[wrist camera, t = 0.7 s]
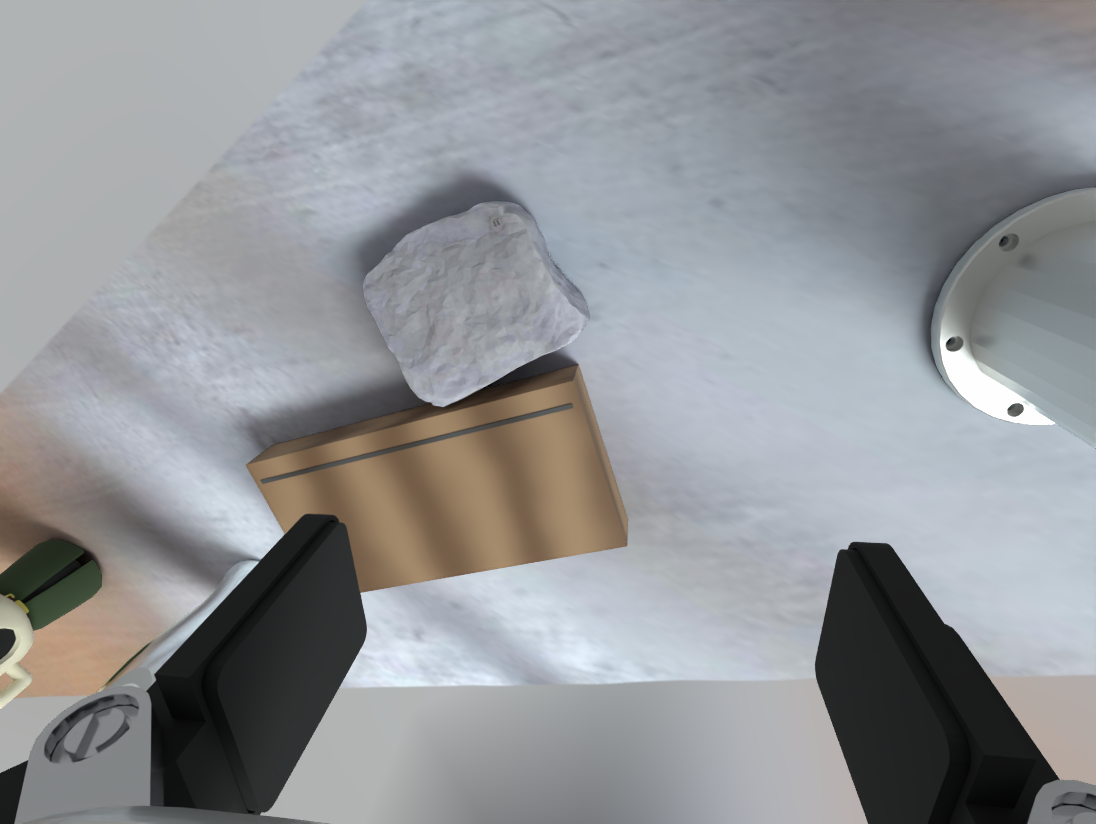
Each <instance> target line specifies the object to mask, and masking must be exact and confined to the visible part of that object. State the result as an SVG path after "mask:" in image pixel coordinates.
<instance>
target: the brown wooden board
mask: <svg viewBox="0 0 1096 824" xmlns="http://www.w3.org/2000/svg"><path fill="white" fill-rule="evenodd" d="M246 466H247V468H248V470H249V472H250V473H251V475H252V477H253V479H254V480H255V482H256V484H257V486H258V488H259V489H260V491H261V493H262V495H263V496H264V498H265V500H266V502H267V503H268V505H269V507H270V509H271V510H272V512H273V514H274V516H275V517H276V519H277V521H278V523H279V524H280V526H281V528H282V530H283V531H284V533H285V534H286V533H287V532H288V531H289V530H290V528H291V527H292V526H293V525H294V524H295V523H296V522H297V521H298V520H299V519H300V518H301V517H302V516H303V515H305V514H308V513H309V514H328V515H335V516H336V517H337V518H338V519H339V522H342V523H344V524H345V525H346V527H347V531H348V536H349V541H350V546H351V551H352V556H353V560H354V565H355V570H356V575H357V580H358V585H359V590H360V593H361V592H367V591H373V590H378V589H384V588H390V587H396V586H401V585H407V584H413V583H419V582H424V581H430V580H436V579H442V578H447V577H453V576H459V575H464V574H470V573H476V572H482V571H487V570H493V569H499V568H505V567H510V566H516V565H522V564H528V563H533V562H539V561H545V560H551V559H556V558H562V557H568V556H574V555H579V554H585V553H591V552H597V551H602V550H608V549H614V548H620V547H625V546H627V538H628V518H627V515H626V512H625V509H624V505H623V502H622V499H621V496H620V493H619V490H618V487H617V483H616V480H615V477H614V474H613V471H612V468H611V465H610V462H609V458H608V455H607V452H606V449H605V446H604V443H603V440H602V436H601V433H600V430H599V427H598V424H597V421H596V418H595V414H594V411H593V408H592V405H591V402H590V399H589V396H588V392H587V389H586V386H585V383H584V380H583V377H582V374H581V370H580V367H579V364H578V365H574V366H571V367H567V368H563V369H559V370H555V371H552V372H548V373H544V374H540V375H537V376H533V377H529V378H525V379H521V380H518V381H514V382H510V383H506V384H503V385H499V386H495V387H491V388H487V389H484V390H480V391H476V392H474V393H472V394H470V395H468V396H466V397H464V398H462V399H460V400H458V401H456V402H453V403H451V404H449V405H446V406H445V407H440V406H434V405H433V404H432V403H431V404H427V405H423V406H419V407H416V408H412V409H408V410H404V411H400V412H397V413H393V414H389V415H385V416H381V417H378V418H374V419H370V420H366V421H363V422H359V423H355V424H351V425H347V426H344V427H340V428H336V429H332V430H329V431H325V432H321V433H317V434H313V435H310V436H306V437H302V438H298V439H295V440H291V441H287V442H283V443H279V444H276V445H272V446H270V447H269V448H267V449H266V450H265V451H264V452H262V453H261V454H260V455H258V456H257V457H256V458H254V459H253V460H252V461H250V462H249V463H248V464H246Z"/></svg>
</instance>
